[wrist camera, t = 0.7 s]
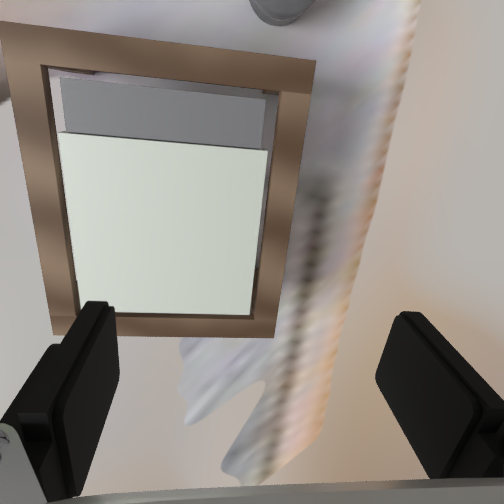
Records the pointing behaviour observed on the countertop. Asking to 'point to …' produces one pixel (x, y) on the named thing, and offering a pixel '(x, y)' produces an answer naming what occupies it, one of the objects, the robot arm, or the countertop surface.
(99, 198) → the trapdoor
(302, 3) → the metal canister
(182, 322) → the trapdoor frame
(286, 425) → the countertop surface
